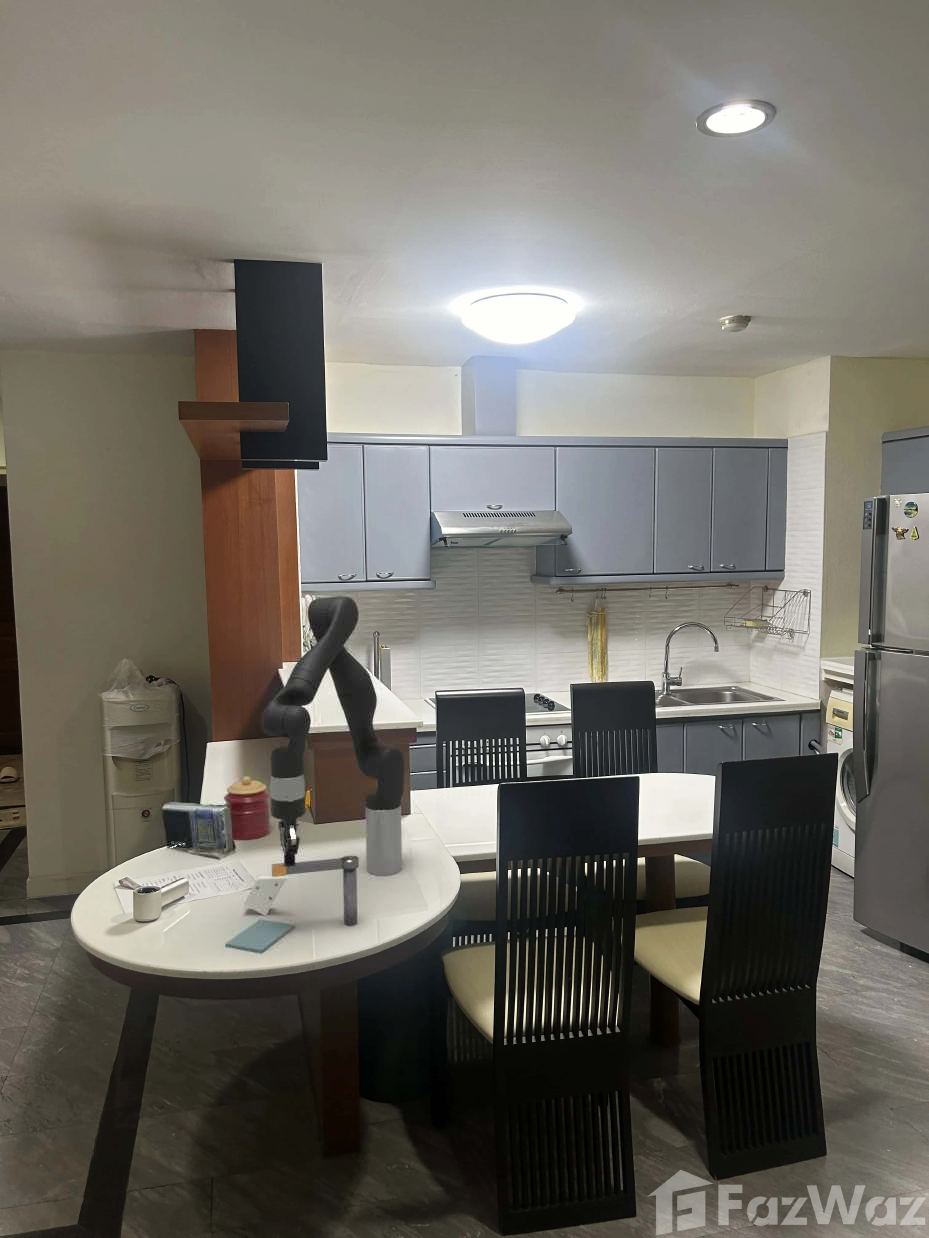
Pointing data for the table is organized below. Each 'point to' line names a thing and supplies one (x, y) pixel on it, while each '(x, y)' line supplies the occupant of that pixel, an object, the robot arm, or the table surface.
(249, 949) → the slate mat
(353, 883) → the post
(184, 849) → the radio
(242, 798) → the canister
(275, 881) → the white angled block
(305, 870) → the grey and orange bar
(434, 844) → the table surface
